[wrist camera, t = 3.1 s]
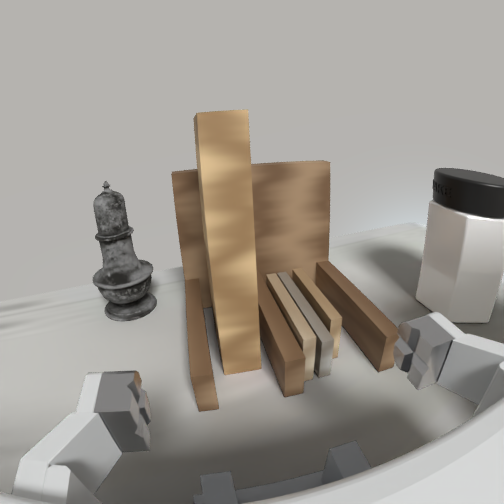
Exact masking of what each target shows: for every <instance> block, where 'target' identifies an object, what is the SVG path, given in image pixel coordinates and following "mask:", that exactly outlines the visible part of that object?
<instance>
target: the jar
mask: <svg viewBox="0 0 504 504" xmlns="http://www.w3.org/2000/svg"><path fill="white" fill-rule="evenodd" d="M503 272H504V178H501V177H497V176H494V175H490V174H486V173H481V172H476V171H470V170H463V169H454V168H439V169H436V170H435V172H434V180H433V200H432V201H430V203H429V211H428V220H427V229H426V237H425V244H424V251H423V258H422V264H421V270H420V276H419V282H418V287H417V292H416V299H417V300H418V301H419V302H421V303H422V304H423V305H424V306H426V307H427V308H428V309H430V310H431V311H432V312H439V313H441V314H442V315H443V316H444V317H445V318H447V319H448V320H449V321H450V322H453V323H488V322H489V320H490V317H491V314H492V311H493V308H494V304H495V301H496V298H497V294H498V291H499V287H500V284H501V280H502V276H503Z"/></svg>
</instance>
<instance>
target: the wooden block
mask: <svg viewBox="0 0 504 504" xmlns="http://www.w3.org/2000/svg"><path fill="white" fill-rule="evenodd" d="M194 131H195V144H196V158H197V170H198V181H199V192H200V203H201V213H202V223H203V233H204V242H205V251H206V260H207V268H208V277H209V285H210V293H211V301H212V308H213V316H214V323H215V329H216V334H217V340H218V345H219V350H220V355H221V360H222V365H223V369H224V374H225V375H228V374H234V373H240V372H246V371H252V370H258V369H261V351H260V330H259V310H258V290H257V270H256V251H255V232H254V212H253V193H252V175H251V157H250V138H249V119H248V110H230V111H215V112H202V113H197V114H196V115H195V117H194Z"/></svg>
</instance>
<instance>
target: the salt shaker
mask: <svg viewBox="0 0 504 504" xmlns="http://www.w3.org/2000/svg"><path fill="white" fill-rule="evenodd" d="M109 186H110V185H109V184H108V183H107V182H106V181H105V183H104V186H103V187H104V191H103V192H102V193H101V194H100V195H98V196H97V197H96V198H95V200H94V212H95V218H96V223H97V228H98V234H96V236H95V239H96V240H98V241H99V242H100V247H101V251H102V256H103V268H102V269H100V270H99V271H98V272H97V273H95V275H94V277H93V283H94V285H95V286H97V287H98V290H99V291H100V293H101V294H102V295H103V296H104V298H105V299H107V300H109V301H110V302H109V303H108V304H107V305H106V307H105V314H106V316H107V317H108V318H110V319H112V320H115V321H131V320H135V319H138V318H141V317H143V316H145V315H147V314H149V313H150V312H151V311H152V310H153V309H154V308H155V306H156V304H157V300H156V298H155V297H154V296H153V295H152V294H150V293H147V291H148V289H149V287H150V283H151V278H152V277H151V274H152V272H153V266H152V264H150V263H149V262H147V261H144V260H138V258H137V256H136V254H135V252H134V249H133V243H132V238H131V233H133V231H134V230H133V228H132V227H130V226H128V220H127V214H126V208H125V201H124V197H123V196H122V195H121V194H120V193H118V192H115V191H112V190H110V189H109Z"/></svg>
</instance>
